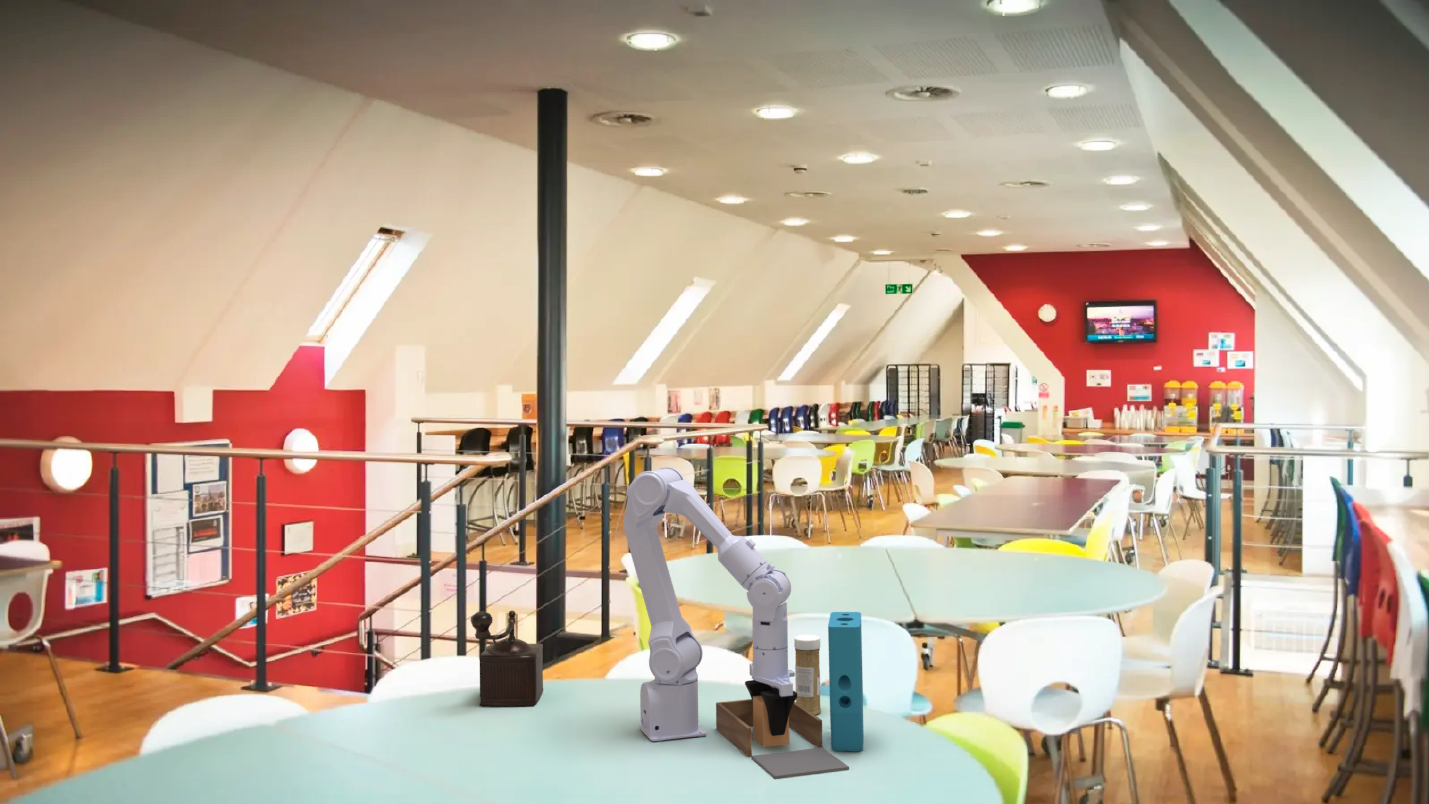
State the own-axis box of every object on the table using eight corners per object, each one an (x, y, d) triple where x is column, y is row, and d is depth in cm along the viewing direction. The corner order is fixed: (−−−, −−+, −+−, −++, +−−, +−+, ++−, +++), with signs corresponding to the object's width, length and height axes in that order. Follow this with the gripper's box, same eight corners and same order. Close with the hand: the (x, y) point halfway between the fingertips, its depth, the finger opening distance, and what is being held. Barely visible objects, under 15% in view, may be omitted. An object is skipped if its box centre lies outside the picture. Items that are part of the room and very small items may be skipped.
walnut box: (747, 757, 182) (747, 728, 182) (716, 729, 197) (715, 702, 197) (822, 748, 186) (822, 720, 186) (785, 721, 201) (785, 695, 201)
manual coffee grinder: (486, 692, 223) (485, 598, 222) (544, 691, 222) (543, 597, 222) (468, 715, 207) (467, 614, 207) (531, 715, 207) (529, 613, 207)
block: (862, 754, 183) (860, 627, 182) (830, 754, 183) (827, 627, 183) (863, 731, 195) (861, 612, 194) (833, 731, 195) (830, 611, 195)
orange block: (763, 747, 187) (762, 703, 187) (753, 739, 192) (752, 696, 192) (789, 744, 189) (788, 700, 189) (778, 736, 193) (778, 693, 193)
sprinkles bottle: (826, 712, 206) (825, 636, 206) (809, 717, 203) (808, 640, 203) (806, 707, 210) (806, 632, 209) (789, 712, 207) (788, 636, 206)
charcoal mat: (774, 778, 172) (774, 776, 172) (751, 758, 182) (751, 755, 182) (849, 769, 176) (849, 766, 176) (822, 749, 186) (822, 747, 186)
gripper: (810, 653, 184) (811, 739, 185) (776, 635, 198) (777, 715, 198) (768, 657, 182) (769, 744, 182) (737, 638, 196) (738, 719, 196)
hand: (771, 729), depth 190 cm, fingers open, 5 cm apart
